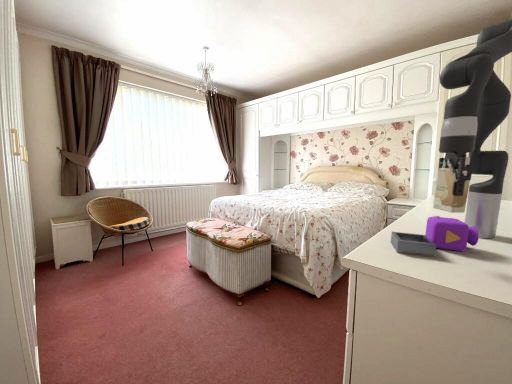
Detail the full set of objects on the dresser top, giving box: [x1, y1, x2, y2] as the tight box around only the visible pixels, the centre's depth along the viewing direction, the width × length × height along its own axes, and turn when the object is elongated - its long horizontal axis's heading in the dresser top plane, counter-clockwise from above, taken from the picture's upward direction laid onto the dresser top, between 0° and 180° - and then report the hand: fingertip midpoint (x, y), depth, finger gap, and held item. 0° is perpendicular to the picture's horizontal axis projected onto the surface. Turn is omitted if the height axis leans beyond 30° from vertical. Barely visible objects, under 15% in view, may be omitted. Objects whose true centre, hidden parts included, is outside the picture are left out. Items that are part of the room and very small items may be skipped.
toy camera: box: [424, 214, 480, 252], centre depth 78 cm, size 11×14×10 cm
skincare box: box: [432, 168, 471, 214], centre depth 66 cm, size 6×4×12 cm
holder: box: [390, 231, 437, 258], centre depth 75 cm, size 10×10×4 cm
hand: (450, 193), depth 66 cm, fingers closed on skincare box, 7 cm apart
